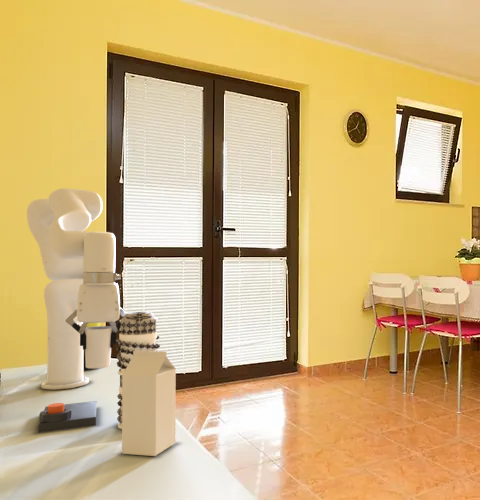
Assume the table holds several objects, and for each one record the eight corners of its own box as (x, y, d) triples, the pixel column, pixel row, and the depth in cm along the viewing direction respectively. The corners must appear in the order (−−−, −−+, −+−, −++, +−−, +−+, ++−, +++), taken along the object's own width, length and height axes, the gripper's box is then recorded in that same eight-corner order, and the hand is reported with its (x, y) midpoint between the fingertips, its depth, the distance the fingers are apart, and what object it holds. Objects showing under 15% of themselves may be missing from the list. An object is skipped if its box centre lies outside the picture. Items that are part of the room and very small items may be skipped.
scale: (45, 414, 123) (45, 399, 123) (96, 408, 128) (96, 394, 128) (38, 433, 110) (38, 416, 110) (95, 425, 114) (96, 409, 115)
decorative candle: (116, 420, 118) (116, 311, 119) (159, 415, 122) (159, 310, 122) (114, 432, 110) (114, 315, 110) (160, 427, 113) (160, 313, 114)
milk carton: (155, 457, 96) (155, 354, 96) (121, 454, 97) (122, 353, 98) (175, 443, 103) (175, 348, 103) (143, 441, 104) (144, 347, 104)
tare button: (48, 411, 115) (48, 403, 115) (64, 409, 116) (64, 402, 116) (46, 415, 112) (47, 407, 112) (63, 413, 113) (63, 405, 113)
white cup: (92, 363, 138) (92, 325, 138) (116, 363, 138) (117, 326, 138) (78, 368, 131) (79, 329, 131) (104, 369, 131) (104, 329, 131)
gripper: (133, 277, 142) (133, 343, 142) (62, 278, 134) (61, 347, 134) (135, 279, 135) (134, 348, 135) (60, 280, 127) (59, 352, 127)
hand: (98, 347), depth 134 cm, fingers closed on white cup, 5 cm apart
